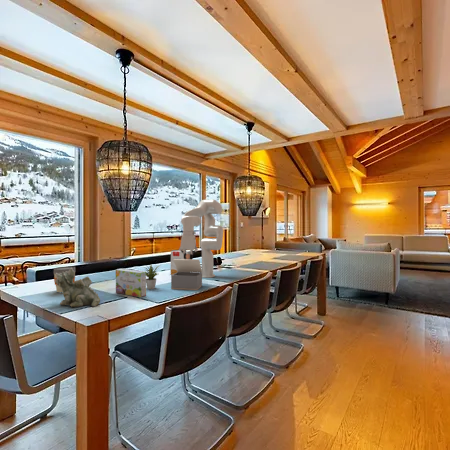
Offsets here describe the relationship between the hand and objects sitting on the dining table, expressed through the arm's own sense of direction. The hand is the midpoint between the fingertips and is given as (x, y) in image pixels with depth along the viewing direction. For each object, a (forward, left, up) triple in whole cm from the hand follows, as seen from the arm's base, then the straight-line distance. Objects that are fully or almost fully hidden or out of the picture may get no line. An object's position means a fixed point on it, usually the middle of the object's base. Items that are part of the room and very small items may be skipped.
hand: (188, 259), depth 206 cm
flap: (0, 0, -5) cm, 4 cm away
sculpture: (+51, -48, -19) cm, 73 cm away
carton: (+3, 0, -19) cm, 19 cm away
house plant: (+9, -23, -19) cm, 31 cm away
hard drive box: (-43, -19, -19) cm, 50 cm away
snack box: (+28, -29, -19) cm, 44 cm away
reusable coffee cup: (+28, -74, -19) cm, 81 cm away
